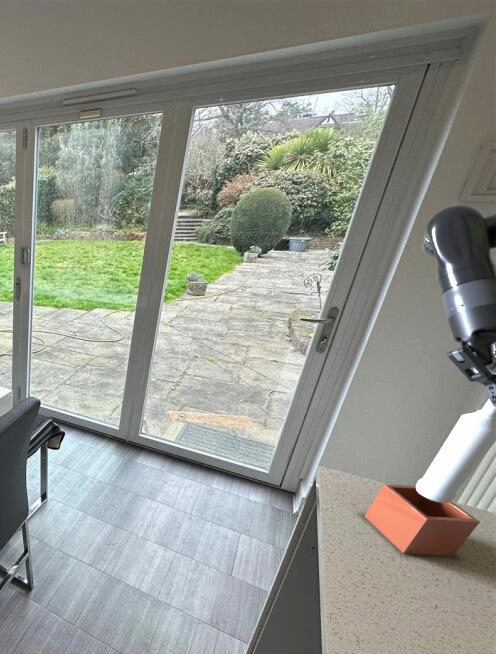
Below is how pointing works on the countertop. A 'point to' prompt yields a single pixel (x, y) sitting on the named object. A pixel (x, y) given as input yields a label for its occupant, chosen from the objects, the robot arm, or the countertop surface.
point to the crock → (419, 521)
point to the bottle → (459, 455)
